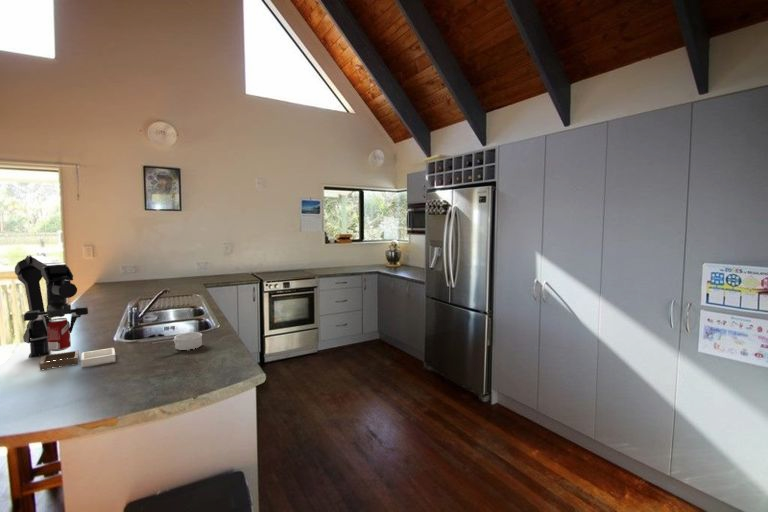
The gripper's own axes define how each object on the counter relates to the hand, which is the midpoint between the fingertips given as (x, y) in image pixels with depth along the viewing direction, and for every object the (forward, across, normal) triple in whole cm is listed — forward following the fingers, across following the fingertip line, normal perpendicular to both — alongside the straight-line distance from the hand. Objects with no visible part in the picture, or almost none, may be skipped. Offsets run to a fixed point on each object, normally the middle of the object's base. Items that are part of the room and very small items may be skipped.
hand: (58, 334), depth 145 cm
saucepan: (+12, +40, -10) cm, 43 cm away
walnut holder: (+12, 0, 0) cm, 12 cm away
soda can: (+6, 0, 0) cm, 6 cm away
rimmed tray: (+12, +12, -6) cm, 18 cm away
